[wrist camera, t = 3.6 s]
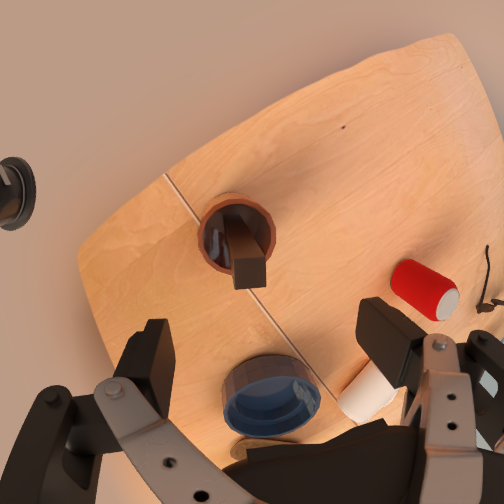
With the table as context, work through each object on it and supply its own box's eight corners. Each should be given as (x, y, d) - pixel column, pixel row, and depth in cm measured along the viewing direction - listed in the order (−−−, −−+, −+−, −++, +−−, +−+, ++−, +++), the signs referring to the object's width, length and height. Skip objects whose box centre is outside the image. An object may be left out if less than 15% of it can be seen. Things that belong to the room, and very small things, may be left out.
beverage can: (381, 278, 40) (427, 311, 29) (405, 249, 39) (456, 274, 28) (397, 299, 42) (440, 333, 30) (420, 272, 41) (467, 300, 30)
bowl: (226, 417, 44) (228, 442, 39) (217, 357, 40) (218, 383, 34) (306, 406, 46) (315, 429, 40) (313, 345, 42) (325, 368, 36)
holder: (204, 252, 35) (201, 277, 27) (200, 194, 33) (194, 201, 25) (261, 248, 36) (276, 271, 28) (259, 190, 34) (275, 196, 25)
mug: (330, 391, 46) (346, 421, 38) (365, 353, 44) (386, 380, 36) (367, 402, 49) (383, 427, 41) (398, 368, 47) (418, 391, 40)
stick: (224, 231, 34) (234, 290, 17) (223, 215, 34) (232, 259, 17) (240, 230, 34) (266, 287, 17) (239, 214, 34) (265, 256, 17)
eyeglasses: (469, 308, 46) (483, 317, 42) (484, 244, 42) (500, 251, 38) (498, 298, 48) (510, 306, 44) (510, 243, 44) (524, 248, 39)
